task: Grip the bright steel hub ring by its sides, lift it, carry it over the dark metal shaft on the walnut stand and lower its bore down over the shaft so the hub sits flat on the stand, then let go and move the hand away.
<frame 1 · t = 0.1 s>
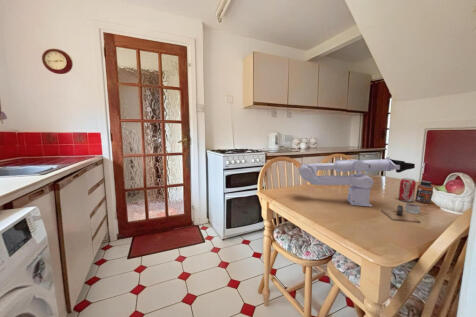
hand: (409, 164, 92), 22 cm above the table, tool horizontal, fingers open, 7 cm apart
beverage can: (405, 200, 105), on the table
steel hub: (411, 211, 90), on the table
shaft stand: (399, 216, 85), on the table
supplement bottle: (422, 202, 103), on the table
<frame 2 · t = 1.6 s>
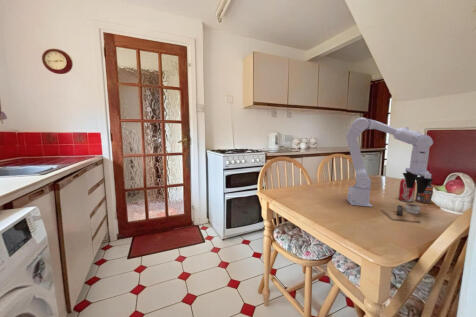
hand: (414, 190, 89), 10 cm above the table, tool pointing down, fingers open, 7 cm apart
nothing on the table moved.
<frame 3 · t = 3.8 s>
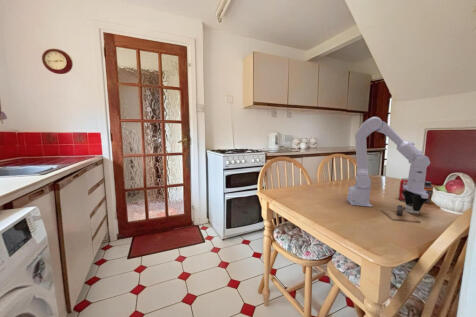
hand: (412, 208, 90), 2 cm above the table, tool pointing down, fingers closed on steel hub, 5 cm apart
steel hub: (411, 211, 90), on the table, touching gripper
everything else where it was.
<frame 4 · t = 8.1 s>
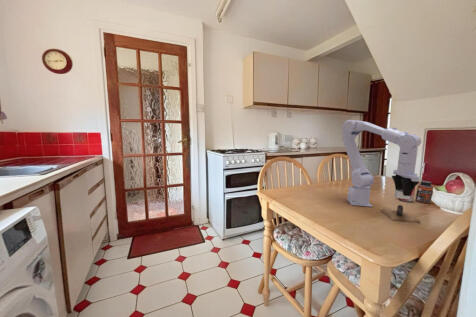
hand: (402, 193, 84), 10 cm above the table, tool pointing down, fingers closed on steel hub, 5 cm apart
steel hub: (402, 197, 84), point 9 cm above the table, touching gripper
everything else where it was.
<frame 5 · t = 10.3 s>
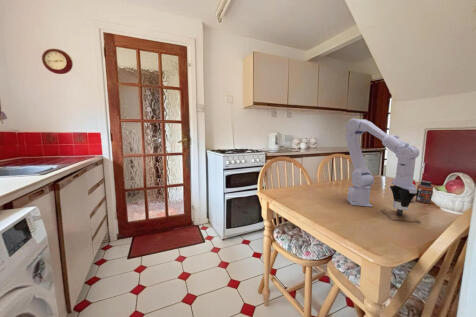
hand: (400, 204, 84), 6 cm above the table, tool pointing down, fingers closed on steel hub, 5 cm apart
steel hub: (400, 207, 84), point 4 cm above the table, touching gripper
everything else where it was.
when the fingers open (3 cm above the table, at t = 12.5 s): steel hub drops 1 cm, resting on shaft stand.
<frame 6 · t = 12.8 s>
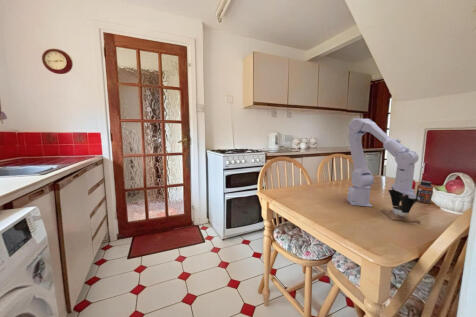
hand: (400, 209, 84), 3 cm above the table, tool pointing down, fingers open, 7 cm apart
steel hub: (399, 215, 85), point 1 cm above the table, touching shaft stand
everything else where it was.
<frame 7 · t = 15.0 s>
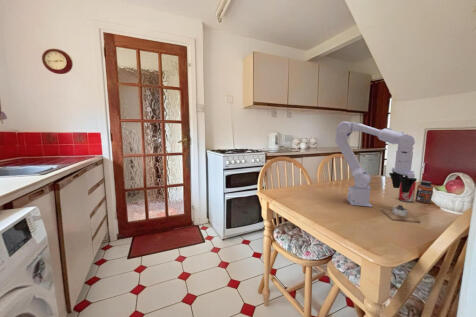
hand: (400, 190, 89), 10 cm above the table, tool pointing down, fingers open, 7 cm apart
nothing on the table moved.
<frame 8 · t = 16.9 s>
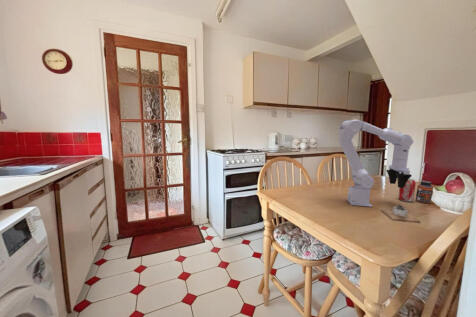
hand: (396, 185, 97), 10 cm above the table, tool pointing down, fingers open, 7 cm apart
nothing on the table moved.
at the end: steel hub 0.0 cm off-centre on the shaft stand, point 0.6 cm above the shaft stand's base; steel hub tilted 0°; the gripper is holding nothing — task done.
